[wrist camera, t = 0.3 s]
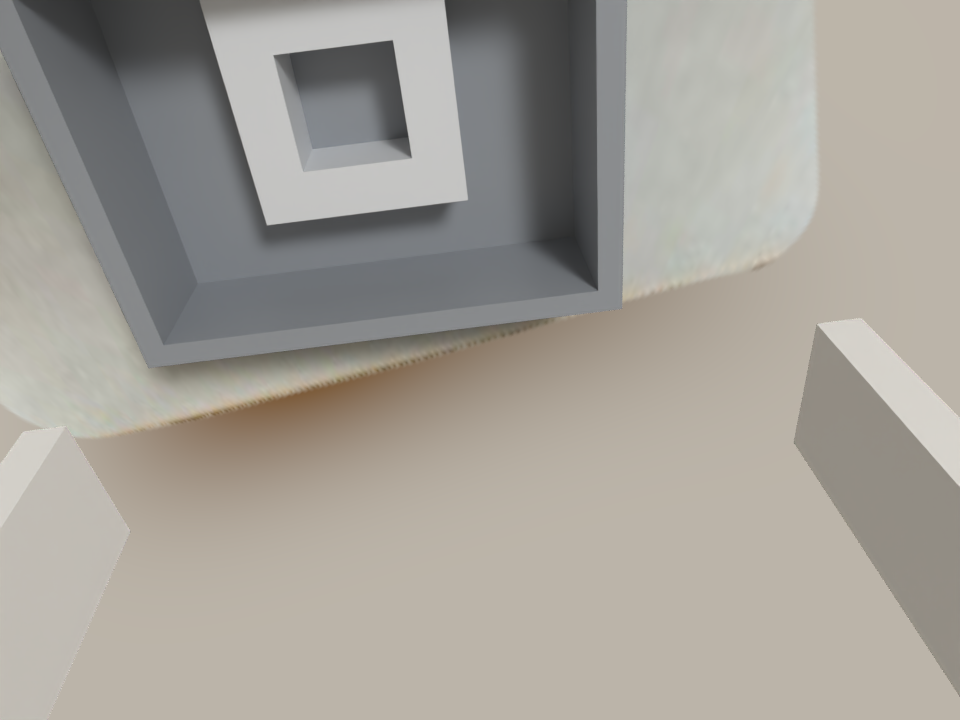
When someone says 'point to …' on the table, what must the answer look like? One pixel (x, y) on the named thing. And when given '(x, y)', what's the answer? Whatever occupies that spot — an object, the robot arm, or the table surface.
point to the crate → (333, 162)
